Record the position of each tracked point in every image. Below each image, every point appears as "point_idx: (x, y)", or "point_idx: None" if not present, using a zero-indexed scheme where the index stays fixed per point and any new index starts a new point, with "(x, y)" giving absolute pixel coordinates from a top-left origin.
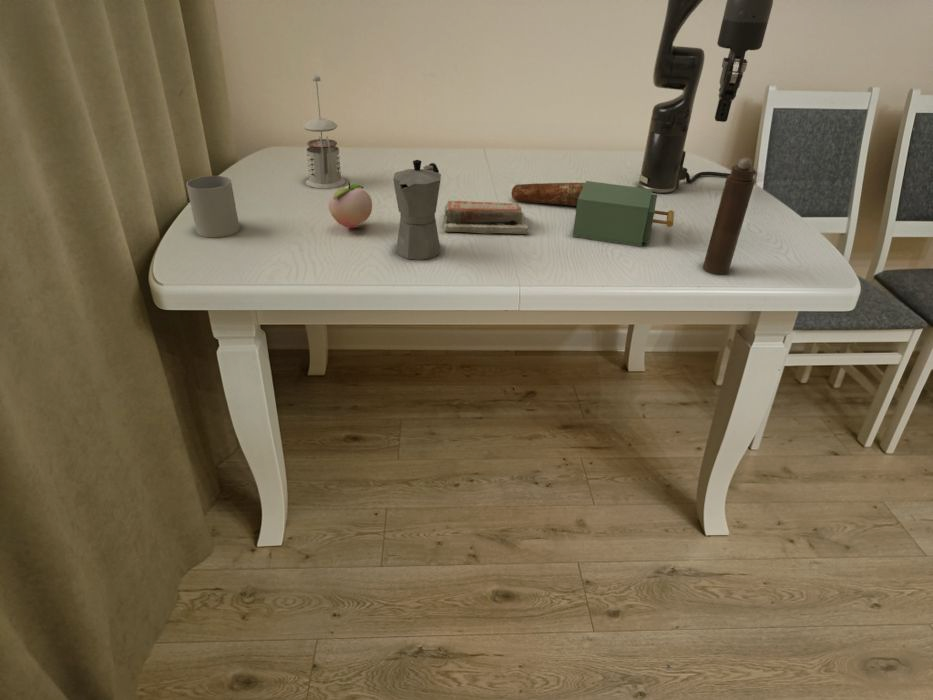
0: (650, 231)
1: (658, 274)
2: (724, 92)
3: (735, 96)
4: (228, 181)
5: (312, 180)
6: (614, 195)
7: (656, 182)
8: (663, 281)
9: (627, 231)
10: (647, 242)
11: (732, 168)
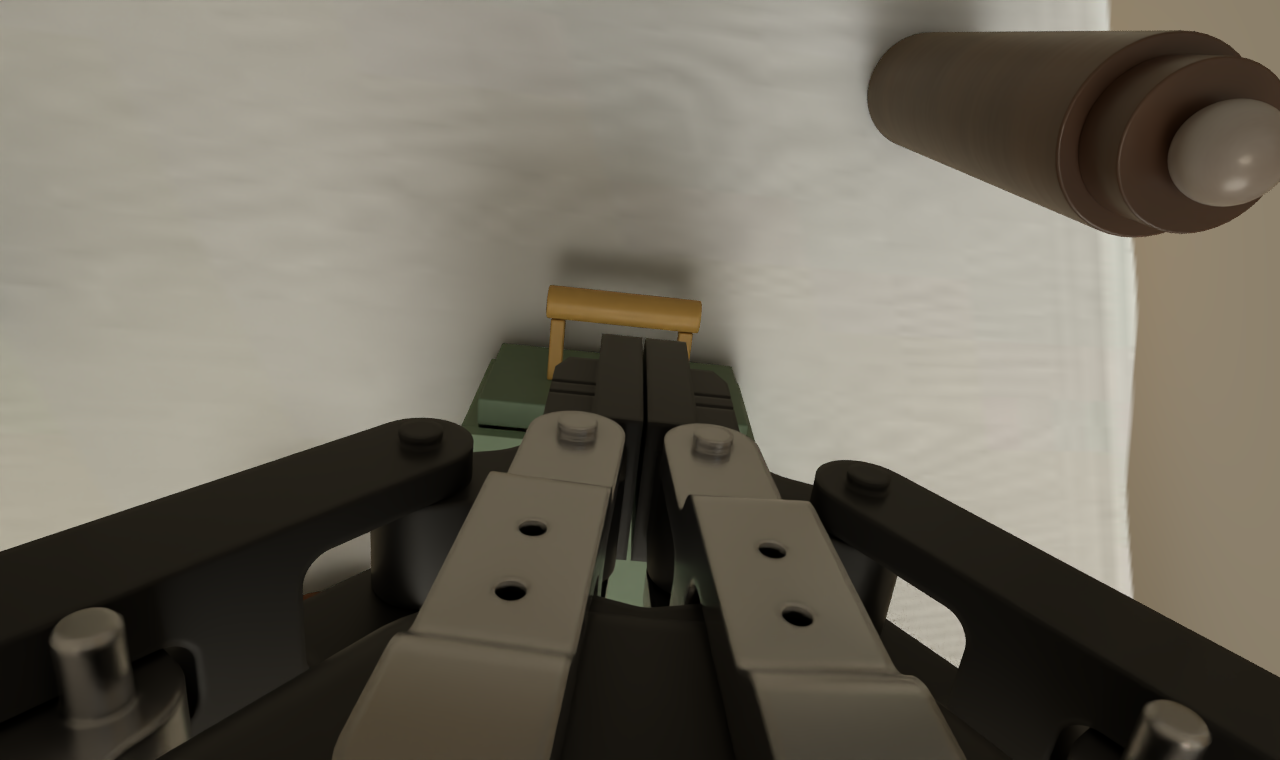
0: (735, 385)
1: (995, 331)
2: (940, 661)
3: (881, 473)
4: None
5: None
6: (623, 598)
7: None
8: (1056, 317)
9: None
10: (731, 368)
11: (1182, 232)
